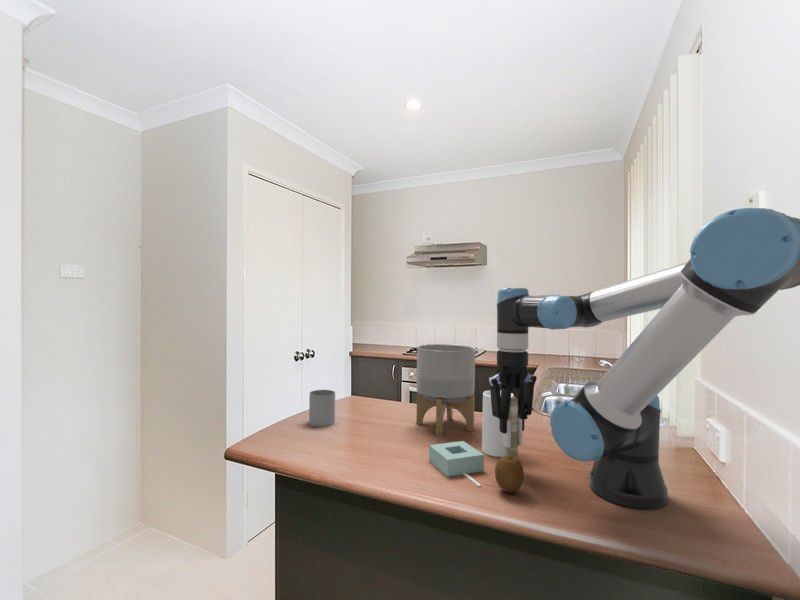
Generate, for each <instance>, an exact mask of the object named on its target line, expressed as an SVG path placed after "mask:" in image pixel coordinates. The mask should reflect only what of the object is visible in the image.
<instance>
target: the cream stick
mask: <svg viewBox="0 0 800 600" xmlns="http://www.w3.org/2000/svg"><path fill="white" fill-rule="evenodd" d="M462 475H463V476H464V477H465V478H466V479H468V480H469V481H470V482H472V483H473V484H474V485H476V487H478V488H479V487H482V484H481V483H479V482H478V481H477V480H475V479H474V477H471V476H470V475H469V473H467V474H466V473H463V474H462Z"/></svg>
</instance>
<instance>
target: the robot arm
mask: <svg viewBox="0 0 800 600" xmlns="http://www.w3.org/2000/svg"><path fill="white" fill-rule="evenodd" d="M689 253H690V259H689V260H688V261H687V262H684V263H681V264H678V265H674V266H672V267H671V266H670V267H667V268H664V269H661V270H657V271H655V272H654V271H653V272H652V273H648V274H645V275H642V276H638V277H635V278H632V279H629V280H626V281H622V282H619V283H615V284H613V285H609V286H606V287H603V288H600V289H597V290H594V291H590V292H587V293H584V294H581V295H561V294H549V295H548V294H547V295H530V294H529V289H528V288H526V287H501V288H500V289H499V290H498V291H497V300H496V318H497V319H496V323H497V325H496V328H497V329H496V347H497V349H498V350H497V351H496V365H497V370H496V374H495V375H494V376H488V377H487V384H488V386H489V390H490V393H491V405H492V415H493V416H495V417H497V418H499V420H500V432H502V445H504V446H506V447H508V448H510V447H511V420H508V417H509V408H510V399H511V393H512V394H513V396H514V397H518V447H523V432H524V431H525V420H527V419H528V416H531V415H532V412H533V404H534V403H533V401H534V391H535V384H536V382H537V378H538V377H537V376H536V375H533V374H530V373H529V371H528V368H527V367H528V366H529V352H528V351H526V350H528V349H529V328H539V329H549V330H551V331H553V330H567V329H569V328H592V327H596V326H599V325H601V324H602V323H604V322H609V321H612V320H618V319H622V318H626V317H631V316H634V315H639V314H644V313H647V312H652V311H657V310H659V311H658V312H657V313H656V314H655V316H654V317H653V318H652V319H651V320H650V321H649V322H648V324H647V325H646V326H645V327H644V328H643V329H642V330H641V332H640V333H639V334H638V335H637V336H636V338H635V339H634V340H633V341H632V342H631V343H630V345H629V346H628V347H627V348H626V349H625V350H624V351H623V353H622V354H621V355H620V357H619V358H617V360H616V361H615V362H614V363H613V364H612V366H611V367H610V368H609V369H608V371H606V372H605V374H604V375H603V376H602V377H601V378H600V379H599V380H598V379H597V380H589V381H587V382H586V383H585V384H584V386H582V388H580V390H579V391H578V392H577V394H576V395H575V396H574V397H573V398H572V399H570V400H564V401H562V402H560V403H558V404H557V405H556V406H554V408H553V409H552V411H551V414H550V418H549V424H550V427H551V434H552V436H553V437H552V438H553V439H554V442H555V443H556V444H557V446H558V448H560V450H561V451H562V452H563V454H565V455H566V456H567V457H569V458H571V459H572V460H574V461H575V460H576V461H577V462H582V463H586V462H593V466H592V467H591V468H592V469H591V471H590V473H589V476H588V477H589V478H588V479H589V481H588V482H589V488H590V489H591V491H592V492H594V493H595V494H596V495H598V496H599V497H600V498H603V499H605V500H607V501H609V502H612V503H614V504H617V505H621V506H623V507H624V506H625V507H628V508H629V507H630V508H634V509H644V510H653V509H654V510H655V509H660V508H663V507H664V506H666V505H667V504H668V502H669V501H668V498H669V495H668V494H669V492H668V488H667V485H666V482H665V480H664V475H663V473H662V469H661V466H660V463H659V462H660V461H659V460H660V459H659V457H660V455H659V453H660V431H661V430H660V428H661V427H660V426H661V422H660V421H661V412H662V410H661V403H660V402H661V401H660V397H659V396H658V395H659V394H660V393H661V392H662V391H663V390H664V389H665V388H666V386H668V385H669V384H670V383H671V382H672V381H673V379H675V378H676V377H677V376H678V375H679V374H680V373H681V372H682V371H683V370H684V369H685V368H686V367H687V366H688V365H689V364H690V363H691V362H692V361H693V359H694V358H696V357H697V356H698V354H700V353H701V352H702V351H703V350H704V348H705V347H707V346H708V345H709V344H710V343H711V341H712V340H713V339H714V338H715V337H717V335H719V333H721V331H722V330H724V328H726V326H728V325H729V324H730V322H731V321H732V320H733V319H734V318H735V317H738V316H739V317H740V316H751V315H755V314H756V313H757V312H758V311H759V310H760V309H762V307H763V306H764V305H766V303H767V302H768V301H769V300H771V298H772V297H773V296H775V294H776V293H778V292H779V291H783V290H789V289H790V290H791V289H793V288H796V287H799V286H800V218H797V217H792V216H790V215H788V214H785V213H784V212H780V211H778V210H777V211H776V210H774V209H773V208H772V209H771V208H763V207H760V208H759V207H754V208H753V207H743V208H737V209H731V210H729V211H726V212H722V213H721V214H719V215H717V216H715V217H713V218H711V219H709V220H708V221H707V222H706V223H705V224H704V225H703V226H702V227H701V228H700V229H699V230H697V232H696V234H695V235H694V237H693V239H692V242H691V244H690V249H689ZM500 391H501V396H500Z"/></svg>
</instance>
